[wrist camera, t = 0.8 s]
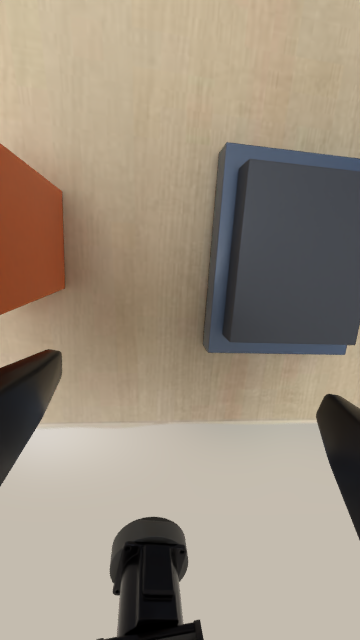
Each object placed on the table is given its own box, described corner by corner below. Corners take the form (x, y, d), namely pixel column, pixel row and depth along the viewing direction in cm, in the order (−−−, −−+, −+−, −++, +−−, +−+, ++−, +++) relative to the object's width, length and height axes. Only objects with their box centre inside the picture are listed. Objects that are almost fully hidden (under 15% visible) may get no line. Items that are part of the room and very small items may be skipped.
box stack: (330, 347, 25) (363, 364, 22) (202, 344, 24) (214, 362, 20) (364, 169, 22) (410, 151, 18) (218, 152, 20) (236, 128, 17)
